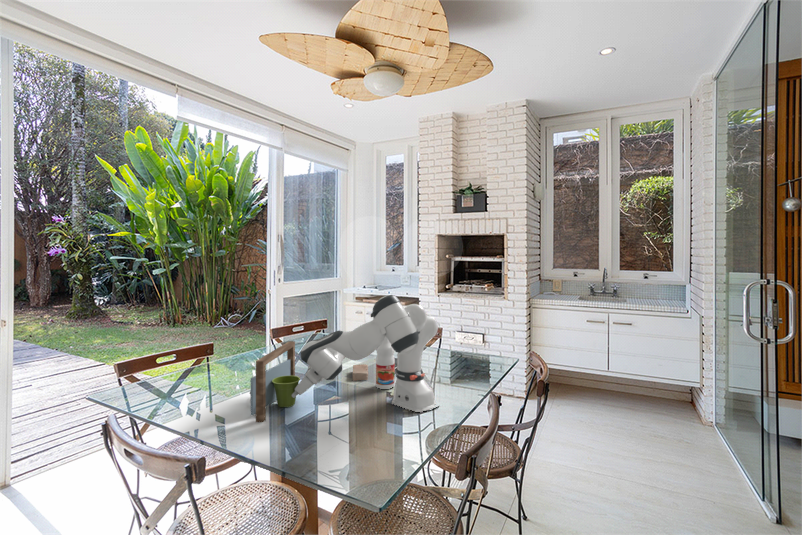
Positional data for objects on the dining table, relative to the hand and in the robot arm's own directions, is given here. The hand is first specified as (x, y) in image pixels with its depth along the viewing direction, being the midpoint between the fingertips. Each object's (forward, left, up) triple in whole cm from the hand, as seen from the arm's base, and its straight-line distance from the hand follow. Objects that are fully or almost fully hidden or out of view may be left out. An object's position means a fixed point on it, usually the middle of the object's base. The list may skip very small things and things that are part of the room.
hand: (296, 392), depth 171 cm
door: (+6, +10, -4) cm, 12 cm away
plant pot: (0, +4, -5) cm, 7 cm away
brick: (+18, -43, -5) cm, 47 cm away
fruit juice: (-5, -44, -5) cm, 45 cm away
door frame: (+3, +8, -5) cm, 9 cm away
